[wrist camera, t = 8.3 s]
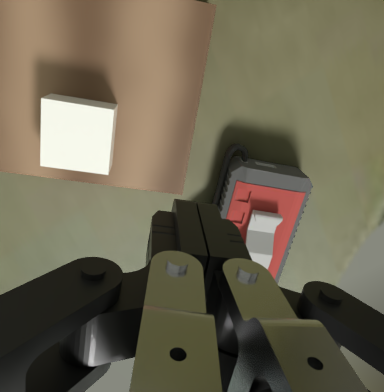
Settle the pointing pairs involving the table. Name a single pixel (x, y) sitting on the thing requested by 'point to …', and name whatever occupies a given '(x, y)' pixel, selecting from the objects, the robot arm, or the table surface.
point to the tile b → (77, 134)
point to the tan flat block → (106, 81)
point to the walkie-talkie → (262, 205)
